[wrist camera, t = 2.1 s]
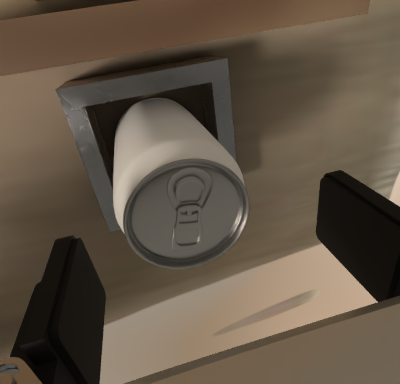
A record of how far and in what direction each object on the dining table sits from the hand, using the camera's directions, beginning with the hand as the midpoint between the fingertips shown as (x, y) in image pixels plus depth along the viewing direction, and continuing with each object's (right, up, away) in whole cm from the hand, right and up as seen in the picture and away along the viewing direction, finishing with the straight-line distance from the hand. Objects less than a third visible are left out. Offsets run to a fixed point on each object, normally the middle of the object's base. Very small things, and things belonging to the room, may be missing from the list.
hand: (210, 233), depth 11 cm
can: (-4, +6, +12) cm, 14 cm away
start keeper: (-4, +6, +12) cm, 14 cm away
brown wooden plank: (-5, +12, +8) cm, 15 cm away
